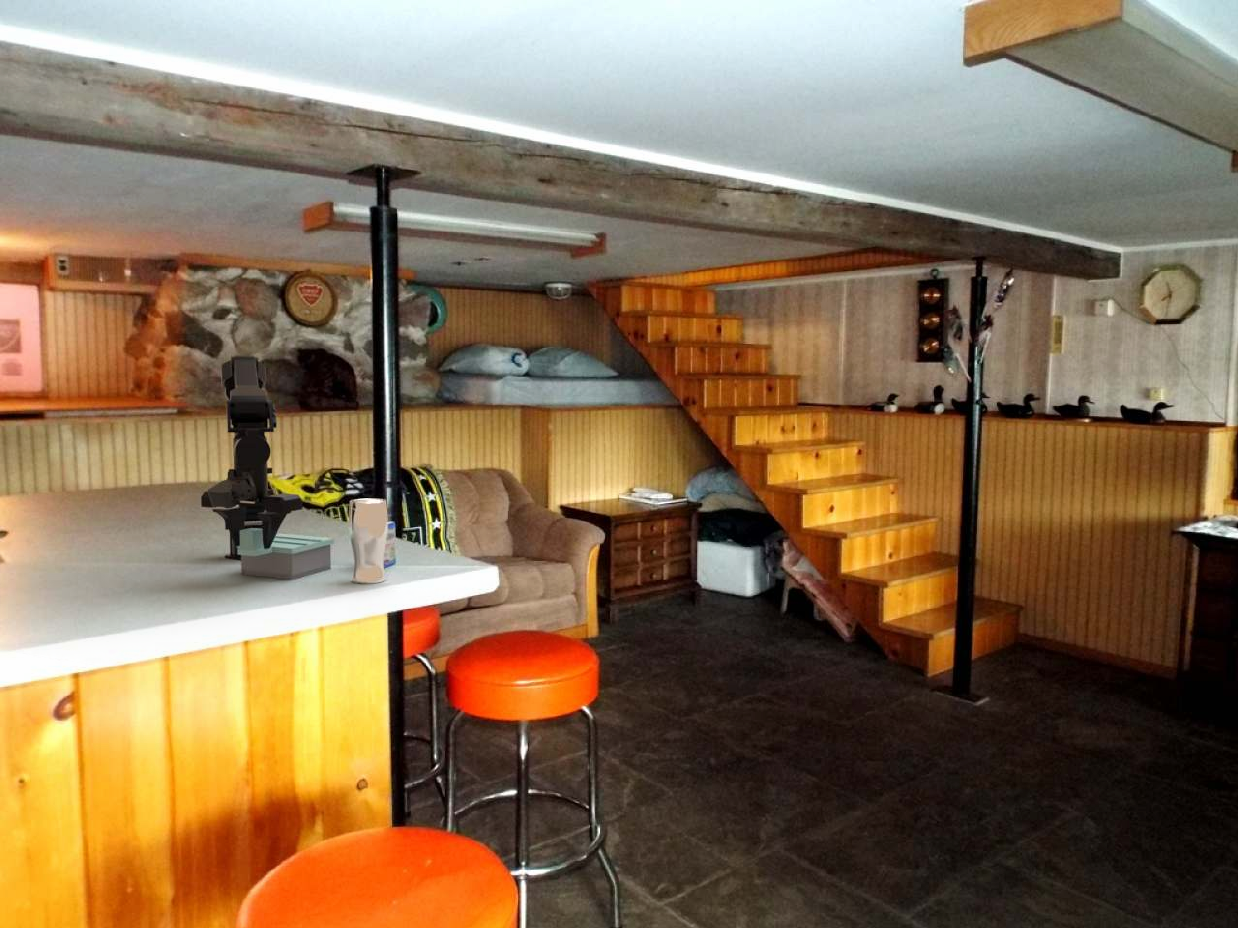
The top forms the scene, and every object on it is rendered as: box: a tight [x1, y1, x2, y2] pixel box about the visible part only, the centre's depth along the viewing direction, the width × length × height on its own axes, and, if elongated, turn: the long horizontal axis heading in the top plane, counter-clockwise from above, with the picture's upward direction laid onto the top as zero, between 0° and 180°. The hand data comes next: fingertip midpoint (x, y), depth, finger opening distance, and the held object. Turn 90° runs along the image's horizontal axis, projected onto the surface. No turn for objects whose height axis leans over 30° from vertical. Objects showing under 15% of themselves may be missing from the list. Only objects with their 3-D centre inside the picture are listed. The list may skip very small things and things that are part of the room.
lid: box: [237, 528, 335, 556], centre depth 176 cm, size 13×17×4 cm
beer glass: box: [348, 497, 389, 585], centre depth 171 cm, size 7×7×15 cm
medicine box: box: [383, 521, 397, 569], centre depth 184 cm, size 8×4×9 cm, turn 168°
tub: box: [240, 544, 332, 581], centre depth 178 cm, size 12×11×5 cm
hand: (252, 547), depth 169 cm, fingers open, 6 cm apart
